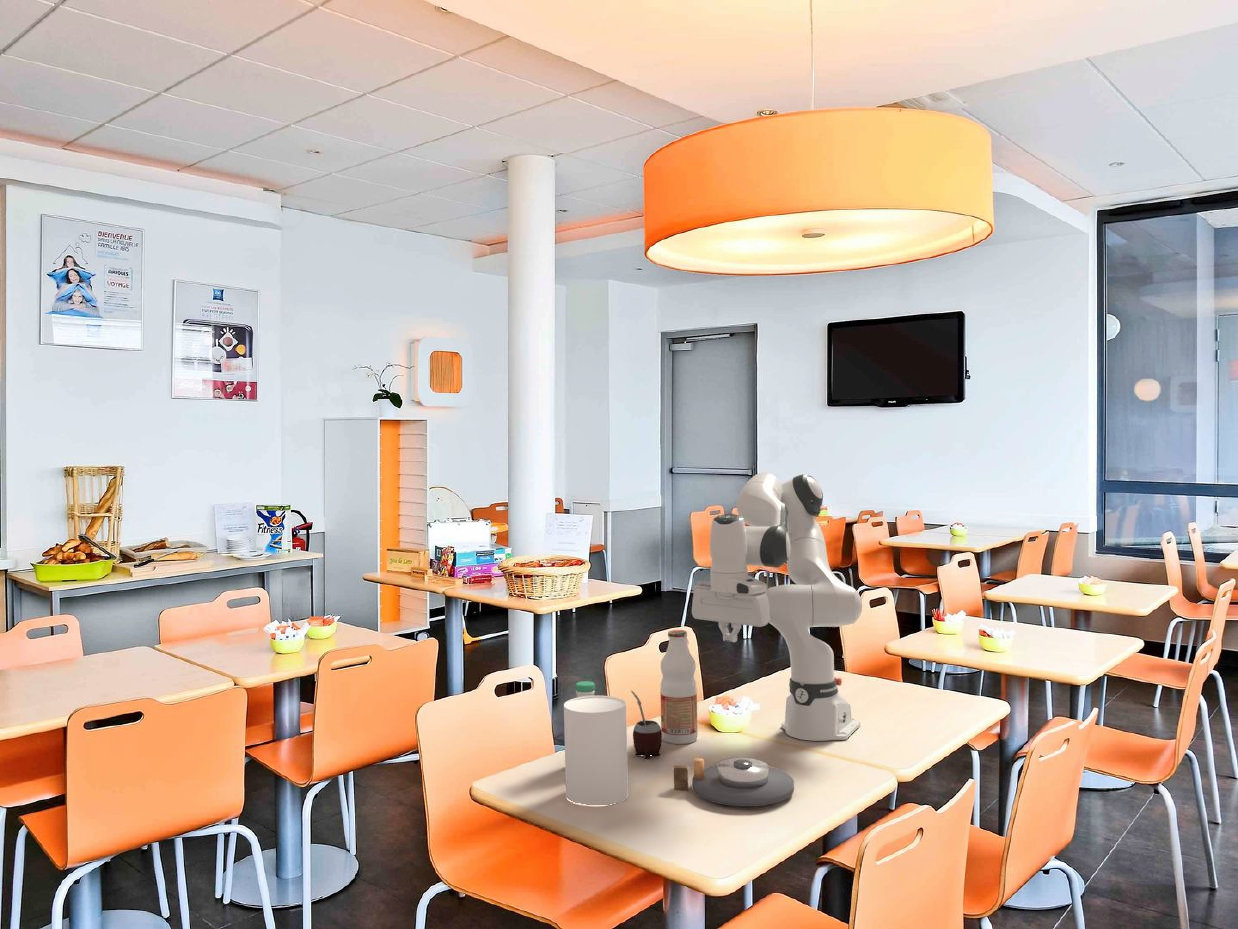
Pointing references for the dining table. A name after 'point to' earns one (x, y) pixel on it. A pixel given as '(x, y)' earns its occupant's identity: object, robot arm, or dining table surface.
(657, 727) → the mate gourd
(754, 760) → the cover
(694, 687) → the fruit juice
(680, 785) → the brown wooden block
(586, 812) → the dining table surface
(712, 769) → the turntable
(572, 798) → the canister
